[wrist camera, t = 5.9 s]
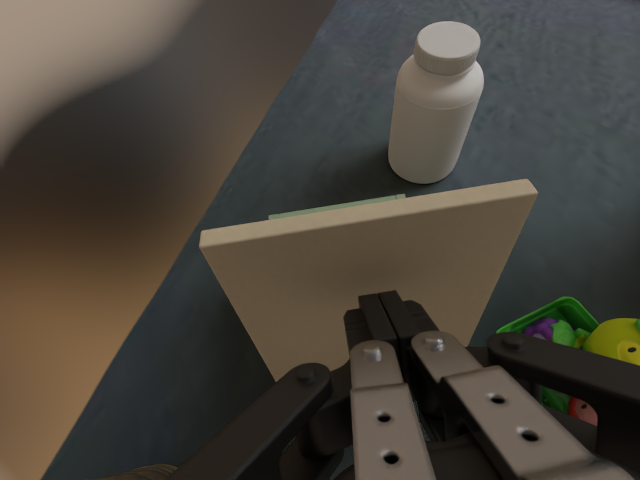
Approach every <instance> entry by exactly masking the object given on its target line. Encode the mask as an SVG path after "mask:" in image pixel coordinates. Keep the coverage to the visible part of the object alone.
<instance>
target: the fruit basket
mask: <svg viewBox="0 0 640 480" xmlns="http://www.w3.org/2000/svg"><path fill="white" fill-rule="evenodd" d="M501 332H517V333H522V334H526V335H530V336H533V337H537V338H541V339H544V340H548V341H552V342H555V343H559V344H563V345H566V346H570V347H574V348H577V349H581V350H585V351H588V352H592V353H596V354H599V355H603V356H607V357H610V358H614V359H618V360H621V361H625V362H628V363H632V364H636V365H639V366H640V319H633V318H618V319H612V320H608V321H605V322H603V323H602V324H599V323H598V322H597V321H596V320H595V319H594V318H593V317H592V315H591V314H590V313H589V312H588V311H587V310H586V309H585V308H584V307H583V306H582V304H581V303H580V302H579V301H577V300H576V299H574V298H572V297H561V298H559V299H557V300H555V301H554V302H552V303H550V304H547V305H545V306H543V307H541V308H539V309H537V310H535V311H534V312H531V313H530V314H528V315H525V316H524V317H522V318H520V319H518V320H515V321H513V322H511V323H509V324H507V325H505V326H503V327H501V328H500V329H498V330H497V332H496V334H497V333H501ZM542 404H543V405H545V406H548V407H550V408H553V409H555V410H558V411H560V412H563V413H565V414H568V415H570V416H573V417H575V418H578V419H580V420H583V421H585V422H588V423H590V424H593V425H595V426H597V414H596V412H595V411H594V409H593V408H592V407H591V406H590V405H589V404H587V403H586V402H584V401H583V400H580V399H578V398H575V397H572V396H569V395H567V394H564V393H561V392H558V391H555V390H553V389H550V388H547V387H544V386H542Z"/></svg>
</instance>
